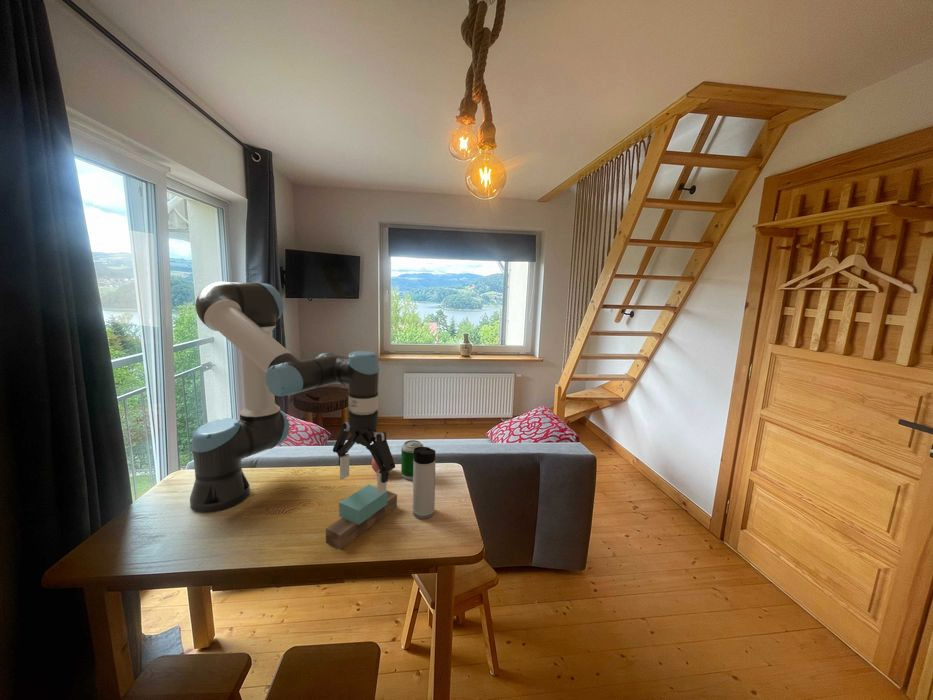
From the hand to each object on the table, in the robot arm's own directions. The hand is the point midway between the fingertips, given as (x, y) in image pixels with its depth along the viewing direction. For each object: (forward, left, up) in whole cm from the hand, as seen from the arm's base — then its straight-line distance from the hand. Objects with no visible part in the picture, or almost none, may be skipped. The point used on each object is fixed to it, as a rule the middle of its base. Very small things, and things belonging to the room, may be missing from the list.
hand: (362, 484), depth 103 cm
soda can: (-5, +29, -12) cm, 31 cm away
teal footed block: (0, 0, -11) cm, 11 cm away
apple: (-15, +25, -12) cm, 31 cm away
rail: (0, 0, -11) cm, 11 cm away
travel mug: (+11, +13, -12) cm, 21 cm away
